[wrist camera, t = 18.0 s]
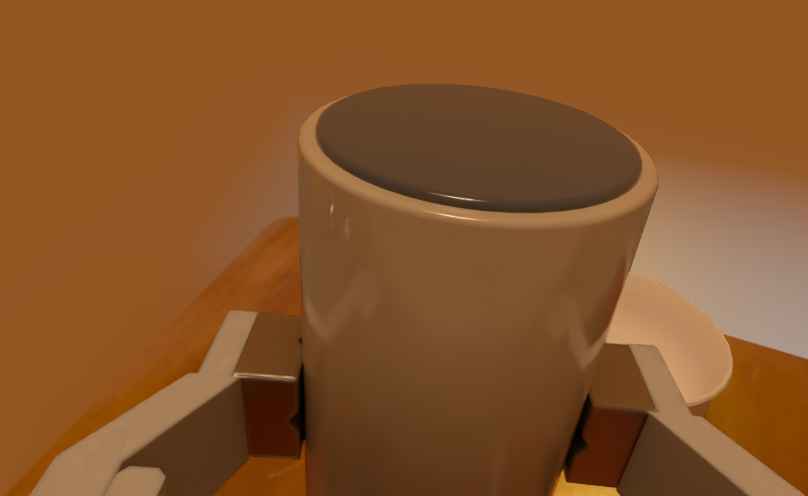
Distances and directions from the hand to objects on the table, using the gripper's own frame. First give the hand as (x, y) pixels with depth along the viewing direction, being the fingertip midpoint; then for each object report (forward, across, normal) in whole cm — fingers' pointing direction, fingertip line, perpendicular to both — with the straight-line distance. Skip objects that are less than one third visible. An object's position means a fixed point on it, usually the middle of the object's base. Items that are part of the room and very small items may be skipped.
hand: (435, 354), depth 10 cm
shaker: (-1, 0, +6) cm, 6 cm away
